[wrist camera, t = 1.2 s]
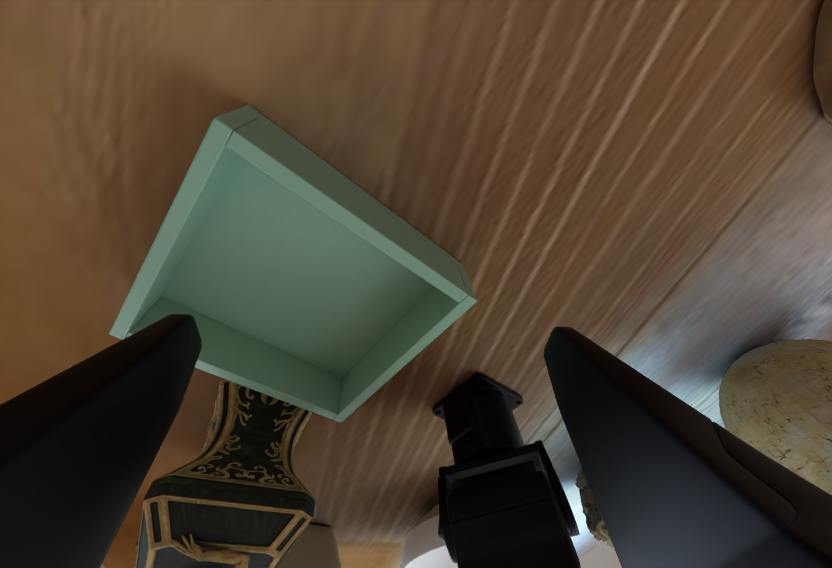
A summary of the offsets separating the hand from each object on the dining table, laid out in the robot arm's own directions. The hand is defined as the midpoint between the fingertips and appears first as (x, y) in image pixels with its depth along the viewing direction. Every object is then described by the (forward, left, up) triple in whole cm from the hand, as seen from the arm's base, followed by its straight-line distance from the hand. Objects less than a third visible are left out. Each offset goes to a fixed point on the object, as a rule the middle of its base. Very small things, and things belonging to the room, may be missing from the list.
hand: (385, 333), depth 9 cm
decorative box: (-5, +28, -14) cm, 31 cm away
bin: (0, +9, -14) cm, 16 cm away
